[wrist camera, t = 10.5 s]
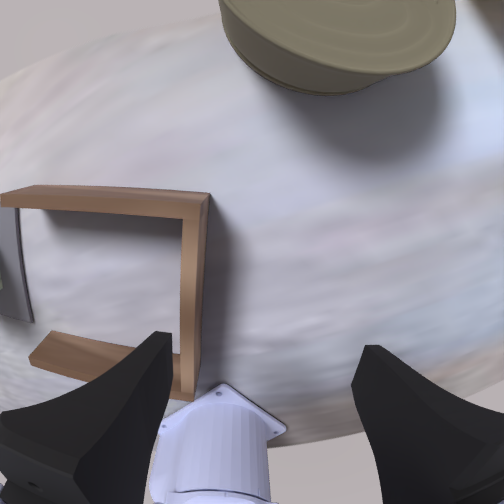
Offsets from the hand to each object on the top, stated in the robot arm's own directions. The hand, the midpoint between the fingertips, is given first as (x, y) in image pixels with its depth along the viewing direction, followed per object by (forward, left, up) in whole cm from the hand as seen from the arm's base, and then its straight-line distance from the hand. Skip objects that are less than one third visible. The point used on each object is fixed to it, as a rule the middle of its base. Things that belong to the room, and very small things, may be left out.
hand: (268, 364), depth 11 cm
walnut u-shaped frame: (-8, +6, -9) cm, 14 cm away
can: (+14, +10, -10) cm, 20 cm away
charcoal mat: (-17, +16, -9) cm, 25 cm away
